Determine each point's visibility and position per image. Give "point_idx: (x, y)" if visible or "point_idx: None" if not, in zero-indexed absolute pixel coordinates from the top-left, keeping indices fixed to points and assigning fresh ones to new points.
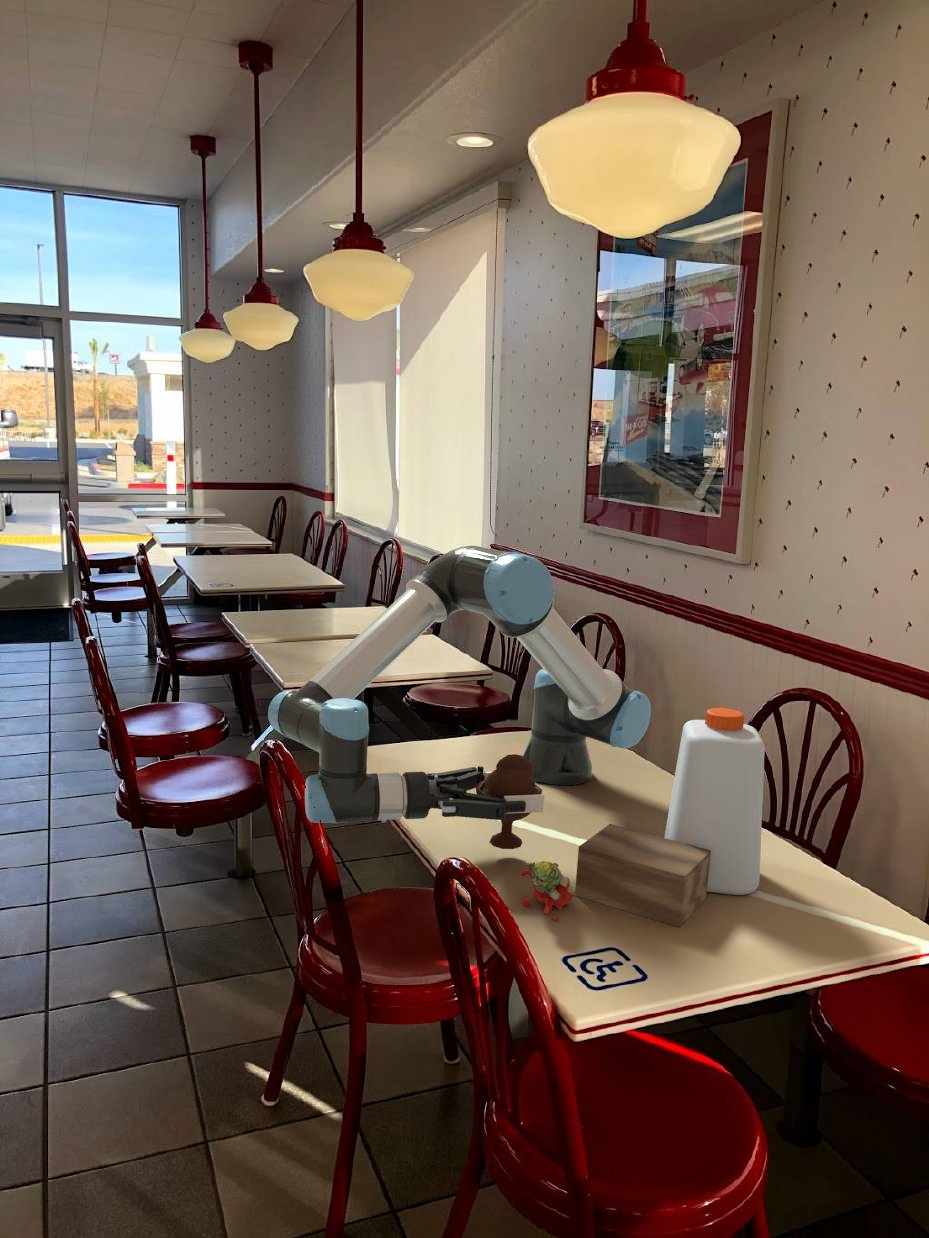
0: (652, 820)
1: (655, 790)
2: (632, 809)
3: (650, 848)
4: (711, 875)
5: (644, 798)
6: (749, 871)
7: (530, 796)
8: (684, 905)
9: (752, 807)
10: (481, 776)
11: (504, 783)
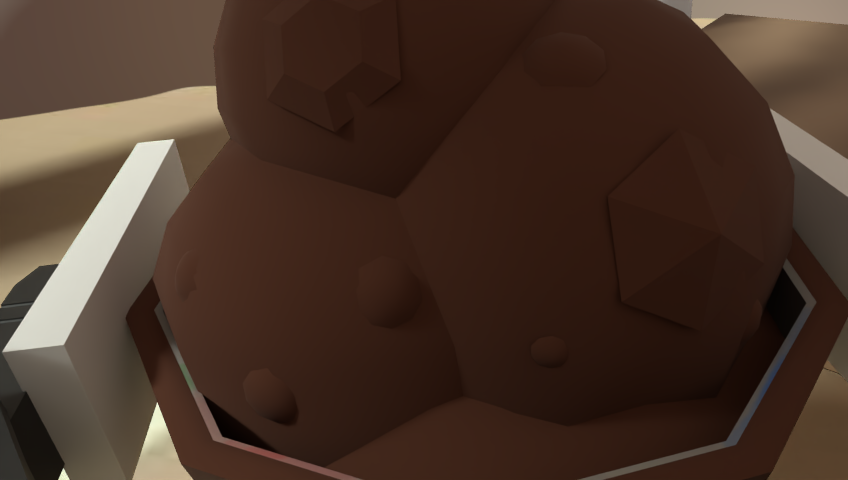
0: (204, 165)
1: (17, 145)
2: (109, 185)
3: (787, 66)
4: None
5: (52, 163)
6: None
7: (782, 120)
8: None
9: None
10: (16, 431)
11: (759, 147)
